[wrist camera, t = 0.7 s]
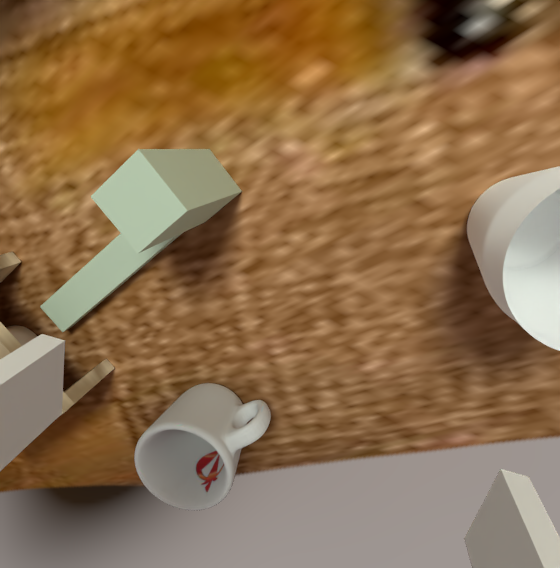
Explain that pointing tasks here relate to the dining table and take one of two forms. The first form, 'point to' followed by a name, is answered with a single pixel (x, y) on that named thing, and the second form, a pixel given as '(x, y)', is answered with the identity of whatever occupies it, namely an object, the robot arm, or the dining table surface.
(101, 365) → the beige arch
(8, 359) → the robot arm
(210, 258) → the dining table surface
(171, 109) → the dining table surface
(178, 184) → the sage green mallet
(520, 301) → the cup
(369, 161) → the dining table surface
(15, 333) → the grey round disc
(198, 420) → the cup
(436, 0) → the dining table surface
